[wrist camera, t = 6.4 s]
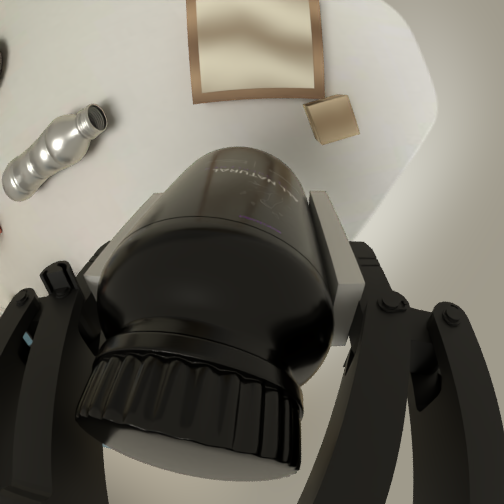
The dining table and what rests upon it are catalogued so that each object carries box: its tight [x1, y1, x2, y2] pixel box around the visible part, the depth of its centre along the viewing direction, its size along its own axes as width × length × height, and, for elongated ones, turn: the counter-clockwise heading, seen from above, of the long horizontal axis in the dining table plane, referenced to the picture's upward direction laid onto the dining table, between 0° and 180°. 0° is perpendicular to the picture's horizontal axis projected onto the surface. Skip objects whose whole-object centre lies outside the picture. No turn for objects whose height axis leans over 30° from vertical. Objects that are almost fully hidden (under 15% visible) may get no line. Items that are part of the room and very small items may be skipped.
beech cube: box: [303, 95, 360, 145], centre depth 24 cm, size 4×4×4 cm
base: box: [186, 0, 325, 104], centre depth 20 cm, size 12×12×4 cm
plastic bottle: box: [2, 104, 107, 202], centre depth 25 cm, size 6×7×20 cm
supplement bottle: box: [75, 147, 335, 481], centre depth 9 cm, size 7×7×12 cm
